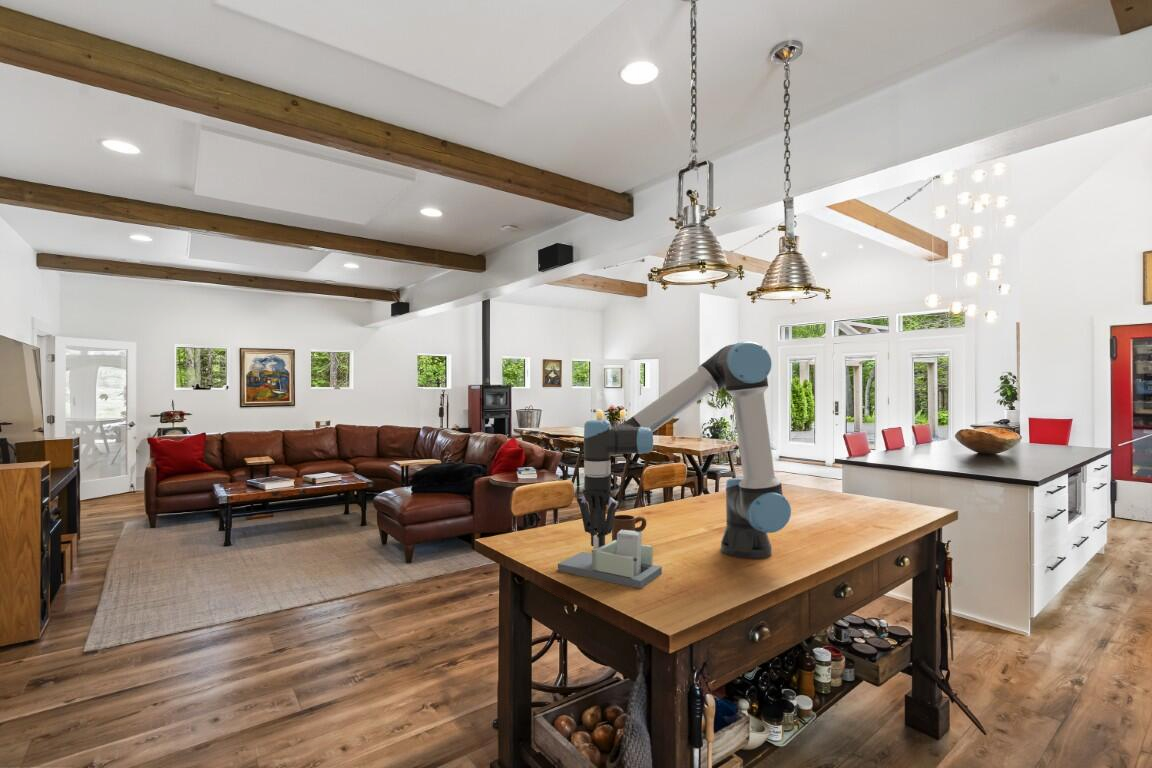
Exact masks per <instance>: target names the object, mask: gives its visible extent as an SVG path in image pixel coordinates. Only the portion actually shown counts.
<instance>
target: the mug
mask: <svg viewBox="0 0 1152 768" xmlns="http://www.w3.org/2000/svg"><path fill="white" fill-rule="evenodd" d="M639 522H641V524H640V526H636V524H637V523H639ZM646 527H647V519H646V518H645V517H644V516H637V517H635V516H633V515H628V514H617V515H616V514H615V517H614V522H613V526H612V531H611V542H612V541H614V540H617V533H618V532H619V531H620V530H631V531H637V532H643V531H644V530H645V529H646Z"/></svg>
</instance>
